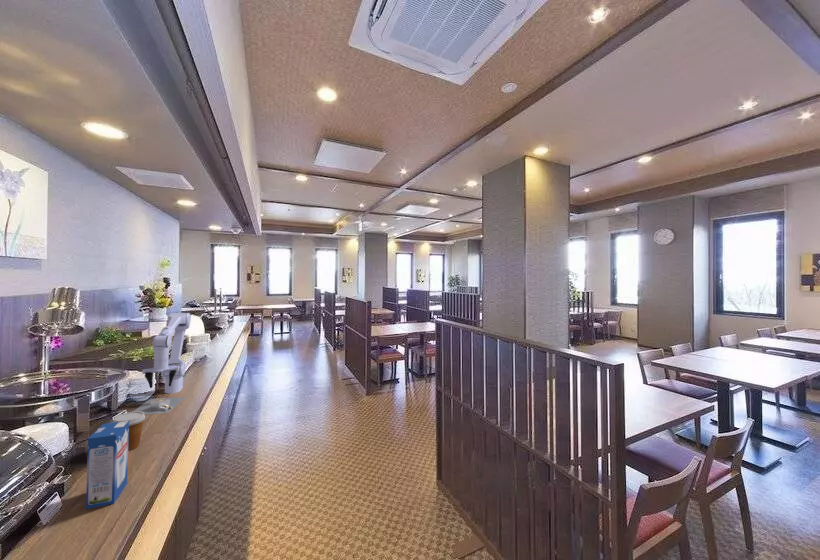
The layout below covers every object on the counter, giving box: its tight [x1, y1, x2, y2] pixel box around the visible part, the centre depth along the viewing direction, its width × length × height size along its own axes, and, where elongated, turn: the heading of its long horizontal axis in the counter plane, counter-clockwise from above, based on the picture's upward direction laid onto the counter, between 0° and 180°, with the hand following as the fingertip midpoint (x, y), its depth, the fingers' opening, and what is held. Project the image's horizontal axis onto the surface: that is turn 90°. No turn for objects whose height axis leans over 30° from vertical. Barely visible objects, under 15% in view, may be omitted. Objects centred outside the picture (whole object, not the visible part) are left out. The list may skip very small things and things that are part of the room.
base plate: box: [132, 396, 186, 415], centre depth 161 cm, size 20×16×5 cm
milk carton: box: [85, 421, 129, 510], centre depth 98 cm, size 10×6×20 cm, turn 24°
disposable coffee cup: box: [111, 411, 146, 452], centre depth 125 cm, size 10×10×12 cm
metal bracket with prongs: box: [151, 397, 174, 411], centre depth 158 cm, size 8×5×4 cm, turn 75°
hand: (160, 386), depth 164 cm, fingers open, 7 cm apart
